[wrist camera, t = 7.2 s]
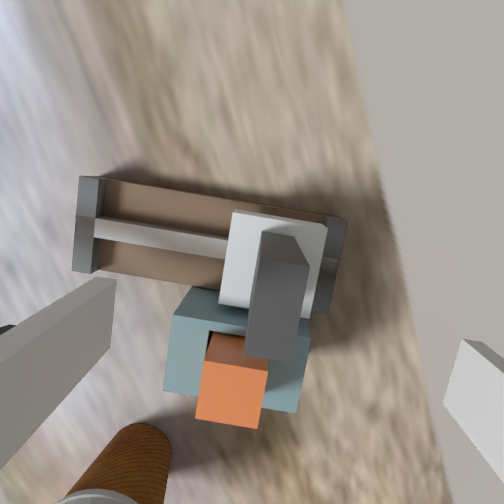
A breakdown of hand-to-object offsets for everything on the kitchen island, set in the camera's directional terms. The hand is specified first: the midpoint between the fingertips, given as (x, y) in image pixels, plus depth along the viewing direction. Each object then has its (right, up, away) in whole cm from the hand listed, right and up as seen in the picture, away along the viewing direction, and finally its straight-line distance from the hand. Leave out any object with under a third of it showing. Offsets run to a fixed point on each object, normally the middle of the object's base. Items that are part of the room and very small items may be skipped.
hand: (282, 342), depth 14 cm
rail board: (-5, +5, +21) cm, 22 cm away
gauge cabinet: (-2, -3, +22) cm, 23 cm away
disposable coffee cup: (-13, -17, +25) cm, 33 cm away
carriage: (0, +3, +17) cm, 17 cm away
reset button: (-2, -4, +16) cm, 17 cm away
